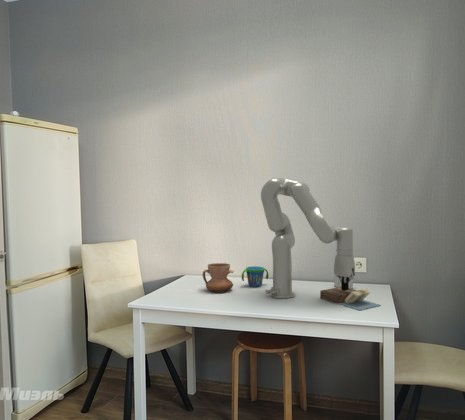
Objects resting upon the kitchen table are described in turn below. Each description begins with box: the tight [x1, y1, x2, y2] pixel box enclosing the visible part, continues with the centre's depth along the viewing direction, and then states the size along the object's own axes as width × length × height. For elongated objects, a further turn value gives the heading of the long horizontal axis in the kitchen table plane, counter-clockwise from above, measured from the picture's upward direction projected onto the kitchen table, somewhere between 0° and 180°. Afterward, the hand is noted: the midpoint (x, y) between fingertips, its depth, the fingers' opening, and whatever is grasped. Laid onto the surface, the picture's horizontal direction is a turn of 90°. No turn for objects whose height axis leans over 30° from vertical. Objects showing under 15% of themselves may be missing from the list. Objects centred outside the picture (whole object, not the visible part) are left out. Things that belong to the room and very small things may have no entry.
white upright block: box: [333, 273, 354, 289], centre depth 236 cm, size 10×4×12 cm, turn 52°
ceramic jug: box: [202, 262, 235, 293], centre depth 234 cm, size 18×14×14 cm
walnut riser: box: [319, 287, 358, 305], centre depth 214 cm, size 15×12×4 cm
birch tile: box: [345, 288, 371, 304], centre depth 204 cm, size 10×7×2 cm
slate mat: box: [338, 299, 382, 311], centre depth 203 cm, size 14×13×1 cm
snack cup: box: [241, 265, 269, 288], centre depth 243 cm, size 16×10×10 cm
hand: (344, 290), depth 211 cm, fingers closed
